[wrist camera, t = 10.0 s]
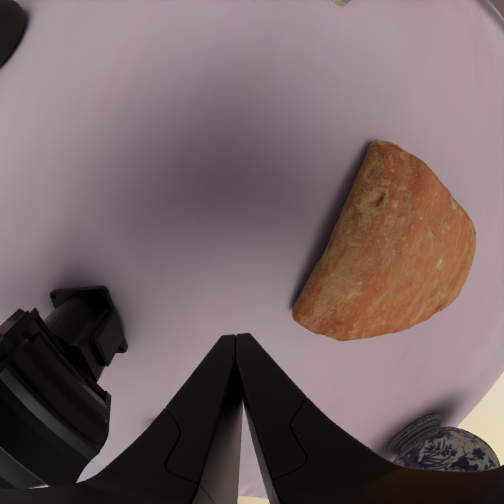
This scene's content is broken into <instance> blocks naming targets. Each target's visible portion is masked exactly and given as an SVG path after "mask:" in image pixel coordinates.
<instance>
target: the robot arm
mask: <svg viewBox="0 0 504 504" xmlns="http://www.w3.org/2000/svg"><path fill="white" fill-rule="evenodd" d="M101 292H103V293H104V295H103V294H101ZM55 296H56V297H55ZM50 297H51V300H52V302H53V305H54V308H55V310H54V311H53V312H52V313H51V314H50V315H49V316H48V317H47V318H46V319H45V320H44V321H43V320H42V318H41V317H40V315H39V312H38V311H37V309H36V308H34V309H33V310H32V311H31V312H30V313H29V311H26V312H25V311H23V310H21V309H18V310H17V311H16V312H15V313H14V314H13V315H12V316H11V317H10V318H9V319H7V320H6V321H5V322H4V323H3V324H2V325H1V326H0V504H237V498H238V482H239V465H240V448H241V431H242V414H243V403H244V408H245V412H246V417H247V421H248V425H249V429H250V433H251V437H252V441H253V444H254V448H255V452H256V456H257V460H258V463H259V467H260V471H261V474H262V478H263V481H264V485H265V488H266V492H267V495H268V499H269V502H270V504H504V465H502V466H500V467H498V468H494V469H490V470H484V471H444V470H430V469H420V468H411V467H405V466H402V465H398V464H395V463H393V462H391V461H389V460H387V459H385V458H383V457H382V456H380V455H378V454H377V453H375V452H374V451H372V450H371V449H370V448H368V447H367V446H365V445H364V444H362V443H361V442H359V441H358V440H357V439H355V438H354V437H352V436H351V435H350V434H348V433H347V432H346V431H344V430H343V429H342V428H340V427H339V426H338V425H337V424H335V423H334V422H333V421H332V420H330V419H329V418H328V417H327V416H326V415H325V414H324V413H323V412H322V411H321V410H320V409H319V408H318V407H316V405H315V404H314V403H313V402H312V401H311V400H310V399H309V398H307V396H306V395H305V394H304V393H303V392H302V391H301V390H300V389H299V388H298V386H297V385H296V384H295V383H294V382H293V381H292V380H291V379H290V378H289V377H288V376H287V374H286V373H285V372H284V371H283V370H282V369H281V368H280V367H279V366H278V365H277V363H276V362H275V361H274V360H273V359H272V358H271V357H270V355H269V354H268V353H267V352H266V351H265V350H264V349H263V348H262V346H261V345H260V344H259V343H258V342H257V341H256V339H255V338H254V337H253V336H252V335H251V334H250V333H243V334H237V335H236V336H235V335H234V334H232V335H222V336H221V337H220V338H219V340H218V341H217V342H216V344H215V345H214V346H213V347H212V349H211V350H210V351H209V353H208V354H207V355H206V356H205V358H204V359H203V360H202V362H201V363H200V364H199V365H198V367H197V368H196V369H195V371H194V372H193V373H192V374H191V376H190V377H189V378H188V379H187V381H186V382H185V383H184V385H183V386H182V387H181V388H180V390H179V391H178V392H177V393H176V395H175V396H174V397H173V398H172V400H171V401H170V402H169V403H168V405H167V406H166V408H165V409H163V411H162V412H161V413H160V414H159V415H158V417H157V418H156V419H155V420H154V421H153V422H152V424H151V425H150V426H149V427H148V428H147V429H146V430H145V431H144V432H143V433H142V434H141V435H140V436H139V437H138V438H137V439H136V440H135V441H134V442H133V443H132V444H131V445H130V446H129V447H128V448H127V449H126V450H124V451H123V452H122V453H121V454H120V455H119V456H118V457H117V458H115V459H114V460H113V461H112V462H111V463H110V464H109V465H108V466H106V467H105V468H104V469H103V470H102V471H100V472H99V473H98V474H97V475H95V476H93V477H92V478H89V479H87V480H85V481H82V482H79V483H76V482H77V479H78V478H79V476H80V474H81V473H82V471H83V469H84V468H85V467H86V466H87V464H88V463H89V462H90V461H91V460H92V459H93V458H94V457H95V456H96V455H98V454H99V453H100V450H101V448H102V447H103V446H104V444H105V442H106V440H107V437H108V433H109V420H110V406H111V395H110V394H109V393H108V392H107V391H104V390H103V389H102V388H101V387H100V386H99V385H98V384H97V381H98V379H99V377H100V375H101V373H102V371H103V369H104V367H105V366H109V365H110V363H111V361H112V359H113V357H114V355H115V353H125V352H126V351H127V348H128V347H127V344H126V341H125V339H124V333H123V331H122V328H121V325H120V322H119V320H118V317H117V314H116V312H115V311H114V308H113V305H112V302H111V299H110V296H109V293H108V290H107V289H106V288H105V287H89V288H75V289H59V290H53V291H52V292H51V293H50ZM121 347H123V348H121ZM45 485H48V486H49V487H44V488H35V487H40V486H45ZM29 488H32V489H29Z"/></svg>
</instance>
